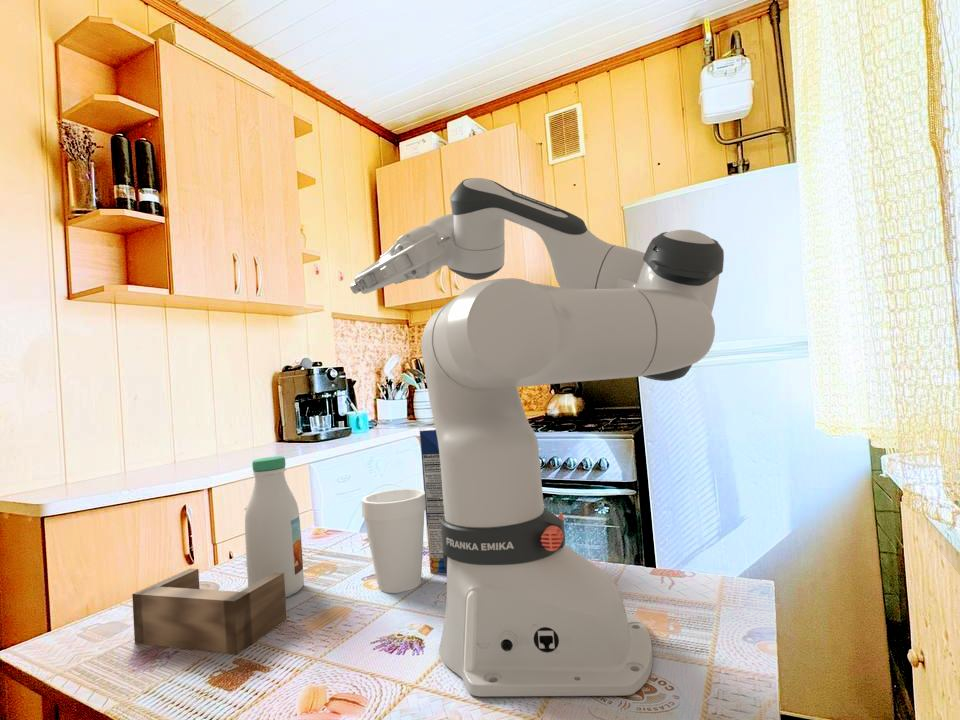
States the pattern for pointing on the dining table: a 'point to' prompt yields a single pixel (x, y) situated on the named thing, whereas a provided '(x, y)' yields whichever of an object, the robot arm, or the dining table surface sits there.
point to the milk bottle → (273, 527)
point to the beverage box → (433, 497)
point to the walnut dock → (207, 613)
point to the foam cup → (396, 537)
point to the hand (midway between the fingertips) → (368, 281)
